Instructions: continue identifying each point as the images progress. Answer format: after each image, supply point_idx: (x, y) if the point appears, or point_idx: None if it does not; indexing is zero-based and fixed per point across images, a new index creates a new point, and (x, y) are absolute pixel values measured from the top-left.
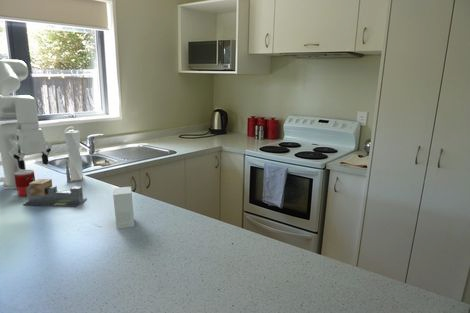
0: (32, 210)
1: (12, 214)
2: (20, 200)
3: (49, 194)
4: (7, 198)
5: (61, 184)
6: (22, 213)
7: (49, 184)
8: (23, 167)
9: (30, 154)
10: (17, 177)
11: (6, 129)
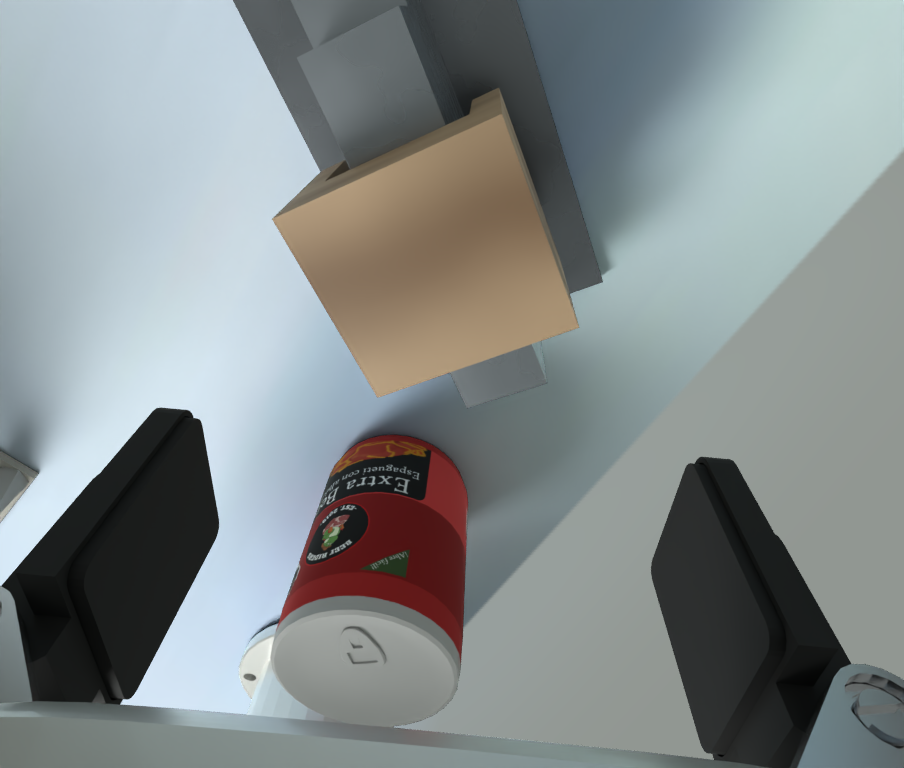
0: (680, 40)
1: (833, 133)
2: (518, 414)
3: (433, 66)
4: (531, 528)
5: (94, 471)
6: (786, 55)
7: (349, 173)
8: (743, 488)
9: (652, 759)
10: (459, 628)
11: None
